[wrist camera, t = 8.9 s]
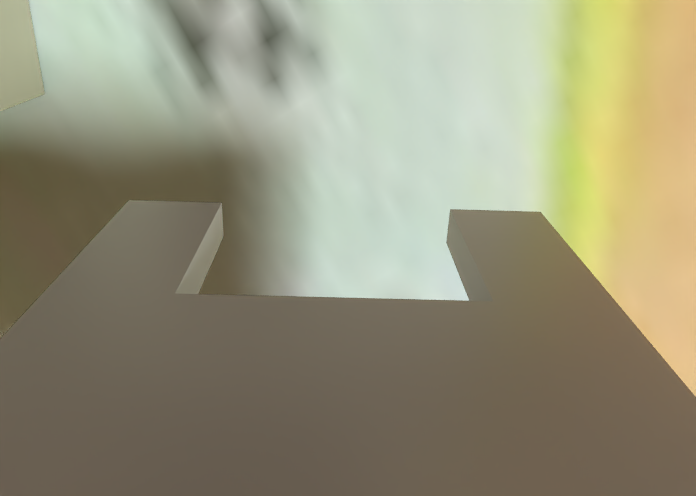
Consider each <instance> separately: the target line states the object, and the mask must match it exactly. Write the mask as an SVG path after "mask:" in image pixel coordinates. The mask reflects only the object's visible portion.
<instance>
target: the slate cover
mask: <svg viewBox="0 0 696 496" xmlns="http://www.w3.org/2000/svg"><path fill="white" fill-rule="evenodd" d="M223 237H224V233H223V216H222V203H214V202H180V201H146V200H128V202H127V203H126V204H125V205H124V206H123V207H122V208H121V209H120V210H119V211H118V212H117V213H116V214H115V216H114V217H113V218H112V219H111V220H110V221H109V222H108V223H107V224H106V225H105V226H104V227H103V228H102V230H101V231H100V232H99V233H98V234H97V235H96V236H95V237H94V238H93V239H92V240H91V241H90V243H89V244H88V245H87V246H86V247H85V248H84V249H83V250H82V251H81V252H80V253H79V254H78V255H77V257H76V258H75V259H74V260H73V261H72V262H71V263H70V264H69V265H68V266H67V267H66V268H65V269H64V271H63V272H62V273H61V274H60V275H59V276H58V277H57V278H56V279H55V280H54V281H53V282H52V283H51V285H50V286H49V287H48V288H47V289H46V290H45V291H44V292H43V293H42V294H41V295H40V296H39V297H38V299H37V300H36V301H35V302H34V303H33V304H32V305H31V306H30V307H29V308H28V309H27V310H26V311H25V313H24V314H23V315H22V316H21V317H20V318H19V319H18V320H17V321H16V322H15V323H14V324H13V325H12V327H11V328H10V329H9V330H8V331H7V332H6V333H5V334H4V335H3V336H2V337H1V338H0V496H696V397H695V396H694V395H693V393H692V392H691V391H690V390H689V389H688V387H687V386H686V385H685V384H684V383H683V381H682V380H681V379H680V378H679V377H678V375H677V374H676V373H675V372H674V371H673V369H672V368H671V367H670V366H669V365H668V363H667V362H666V361H665V360H664V359H663V358H662V356H661V355H660V354H659V353H658V352H657V350H656V349H655V348H654V347H653V346H652V344H651V343H650V342H649V341H648V340H647V338H646V337H645V336H644V335H643V334H642V332H641V331H640V330H639V329H638V328H637V327H636V325H635V324H634V323H633V322H632V321H631V319H630V318H629V317H628V316H627V315H626V313H625V312H624V311H623V310H622V309H621V307H620V306H619V305H618V304H617V303H616V301H615V300H614V299H613V298H612V297H611V295H610V294H609V293H608V292H607V291H606V290H605V288H604V287H603V286H602V285H601V284H600V282H599V281H598V280H597V279H596V278H595V276H594V275H593V274H592V273H591V272H590V270H589V269H588V268H587V267H586V266H585V264H584V263H583V262H582V261H581V260H580V259H579V257H578V256H577V255H576V254H575V253H574V251H573V250H572V249H571V248H570V247H569V245H568V244H567V243H566V242H565V241H564V239H563V238H562V237H561V236H560V235H559V233H558V232H557V231H556V230H555V229H554V227H553V226H552V225H551V224H550V223H549V222H548V220H547V219H546V218H545V217H544V216H543V214H542V213H541V212H523V211H489V210H455V209H450V217H449V225H448V234H447V242H446V243H447V245H448V248H449V250H450V253H451V255H452V258H453V260H454V263H455V265H456V268H457V270H458V273H459V275H460V278H461V281H462V283H463V286H464V288H465V291H466V293H467V296H468V298H469V301H455V300H415V299H375V298H335V297H295V296H255V295H215V294H198V293H199V291H200V289H201V287H202V284H203V282H204V280H205V278H206V275H207V273H208V271H209V269H210V266H211V264H212V262H213V259H214V257H215V255H216V253H217V250H218V248H219V246H220V244H221V241H222V239H223Z"/></svg>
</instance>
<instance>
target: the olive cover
mask: <svg viewBox="0 0 696 496" xmlns="http://www.w3.org/2000/svg"><path fill="white" fill-rule="evenodd" d="M44 94H45V92H44V86H43V81H42V75H41V69H40V64H39V58H38V52H37V47H36V41H35V35H34V30H33V24H32V18H31V12H30V7H29V1H28V0H0V111H3V110H5V109H8V108H10V107H13V106H15V105H18V104H21V103H23V102H26V101H28V100H31V99H33V98H36V97H38V96H41V95H44Z"/></svg>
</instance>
